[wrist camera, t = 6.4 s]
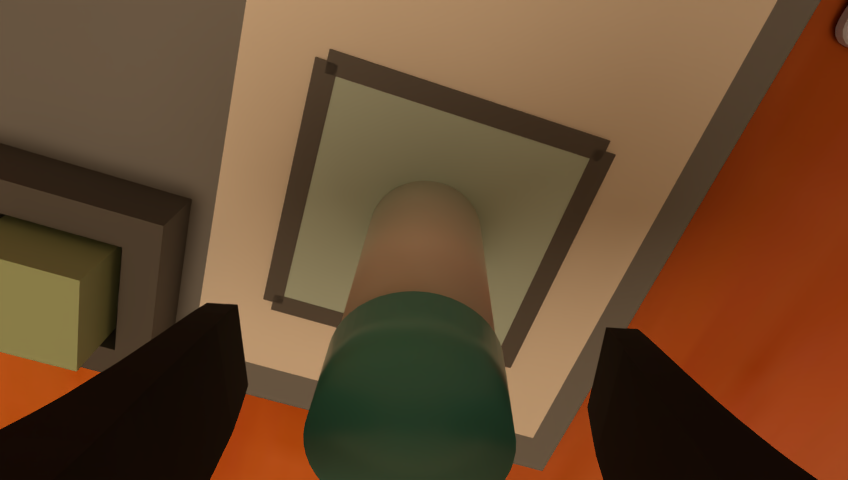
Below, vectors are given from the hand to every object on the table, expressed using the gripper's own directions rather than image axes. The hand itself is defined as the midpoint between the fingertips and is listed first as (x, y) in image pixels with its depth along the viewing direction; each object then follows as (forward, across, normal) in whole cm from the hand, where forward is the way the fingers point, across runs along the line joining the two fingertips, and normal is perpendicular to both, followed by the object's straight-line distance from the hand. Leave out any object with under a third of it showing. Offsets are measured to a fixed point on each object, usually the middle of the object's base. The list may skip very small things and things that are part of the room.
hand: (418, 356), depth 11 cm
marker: (+6, 0, 0) cm, 6 cm away
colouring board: (+7, +3, -2) cm, 7 cm away
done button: (+5, +10, +2) cm, 11 cm away
